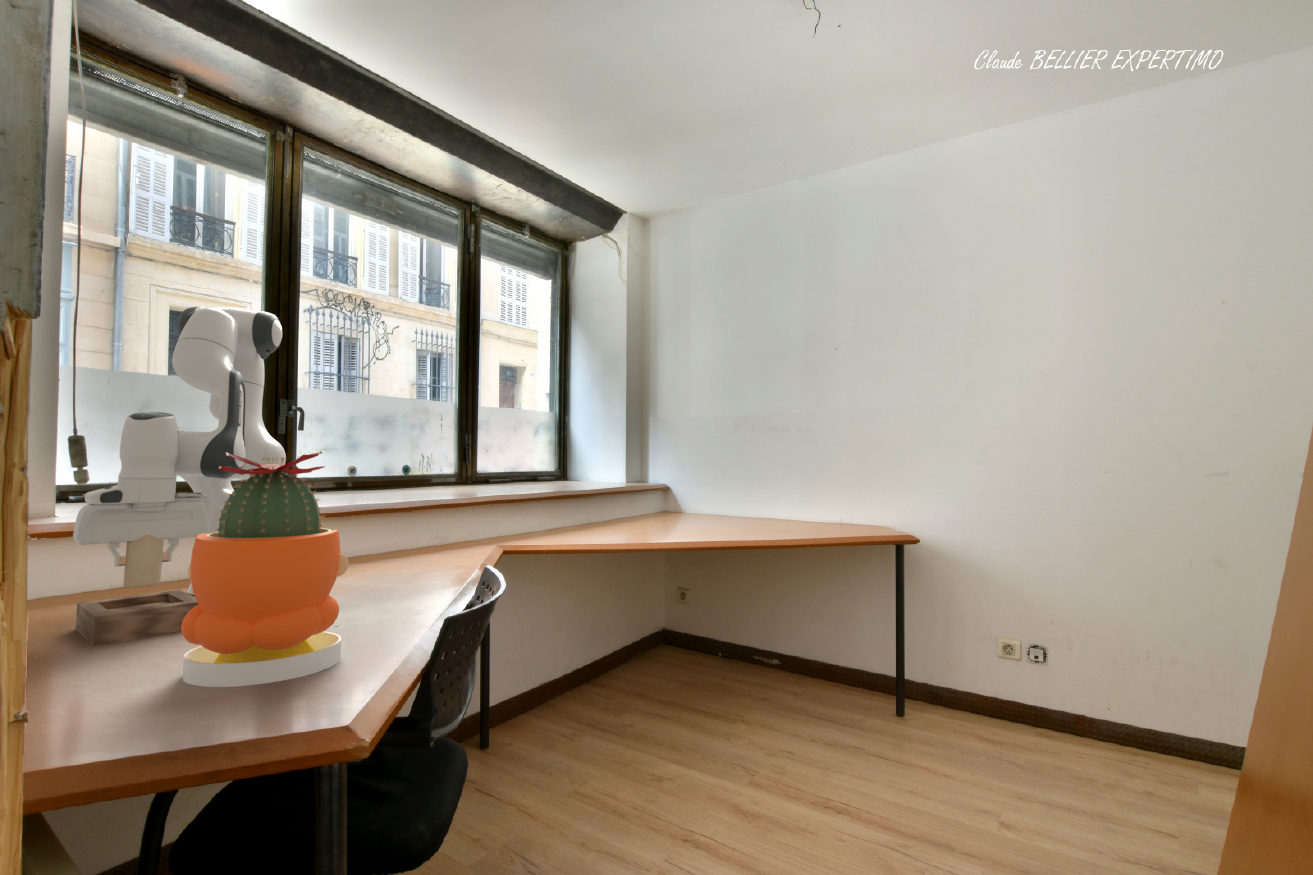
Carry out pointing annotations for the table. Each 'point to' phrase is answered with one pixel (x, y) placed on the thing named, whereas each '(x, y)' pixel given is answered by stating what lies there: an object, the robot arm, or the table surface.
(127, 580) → the candle
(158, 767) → the table surface
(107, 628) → the walnut block
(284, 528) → the potted cactus
